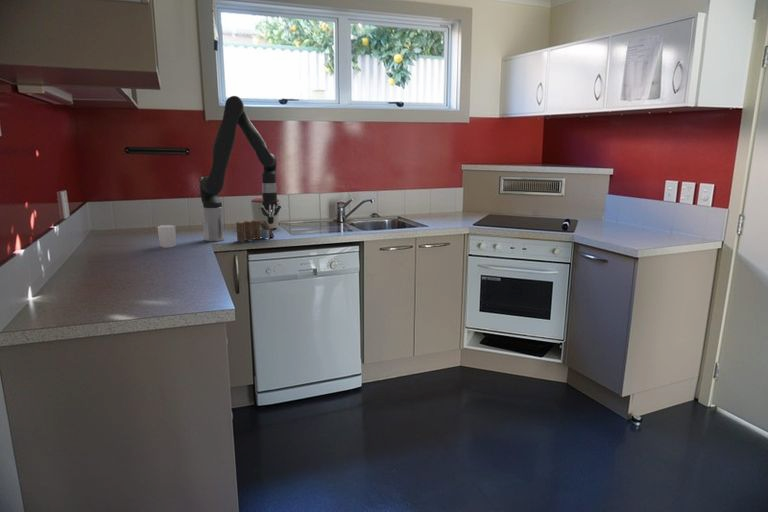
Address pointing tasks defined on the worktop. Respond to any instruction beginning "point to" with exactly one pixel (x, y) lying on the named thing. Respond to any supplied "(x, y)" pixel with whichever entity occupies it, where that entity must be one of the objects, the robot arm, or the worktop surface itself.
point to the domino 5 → (264, 233)
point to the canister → (259, 215)
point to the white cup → (166, 236)
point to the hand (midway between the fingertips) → (270, 223)
